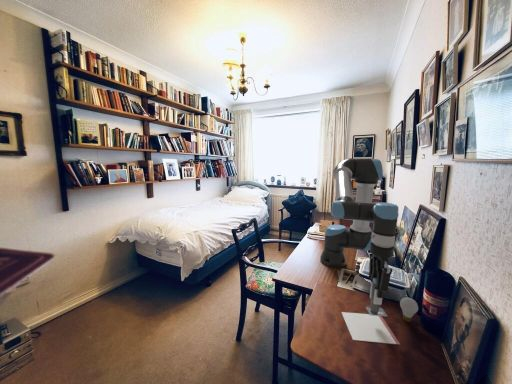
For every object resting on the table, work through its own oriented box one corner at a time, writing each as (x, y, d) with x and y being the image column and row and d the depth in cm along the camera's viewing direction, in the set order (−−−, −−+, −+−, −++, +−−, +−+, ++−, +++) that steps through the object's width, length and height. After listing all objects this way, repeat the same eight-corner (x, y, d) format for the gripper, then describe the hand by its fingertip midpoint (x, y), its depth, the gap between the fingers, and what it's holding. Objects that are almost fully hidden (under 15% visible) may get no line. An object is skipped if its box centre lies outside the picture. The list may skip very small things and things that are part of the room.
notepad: (341, 312, 91) (341, 311, 91) (380, 315, 89) (380, 315, 89) (352, 340, 77) (353, 339, 77) (399, 344, 76) (400, 343, 76)
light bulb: (398, 313, 91) (401, 292, 89) (416, 320, 87) (419, 298, 85) (397, 321, 86) (400, 299, 85) (415, 329, 83) (418, 306, 81)
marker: (367, 309, 87) (371, 277, 85) (376, 310, 86) (380, 277, 84) (371, 315, 83) (375, 281, 81) (380, 316, 83) (384, 282, 81)
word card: (365, 307, 94) (365, 306, 94) (381, 308, 94) (382, 307, 94) (370, 315, 89) (370, 314, 89) (387, 317, 89) (387, 316, 89)
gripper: (363, 236, 89) (357, 288, 92) (381, 252, 73) (374, 314, 77) (382, 237, 88) (376, 289, 92) (405, 253, 72) (396, 316, 76)
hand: (375, 300), depth 84 cm, fingers closed on marker, 3 cm apart
